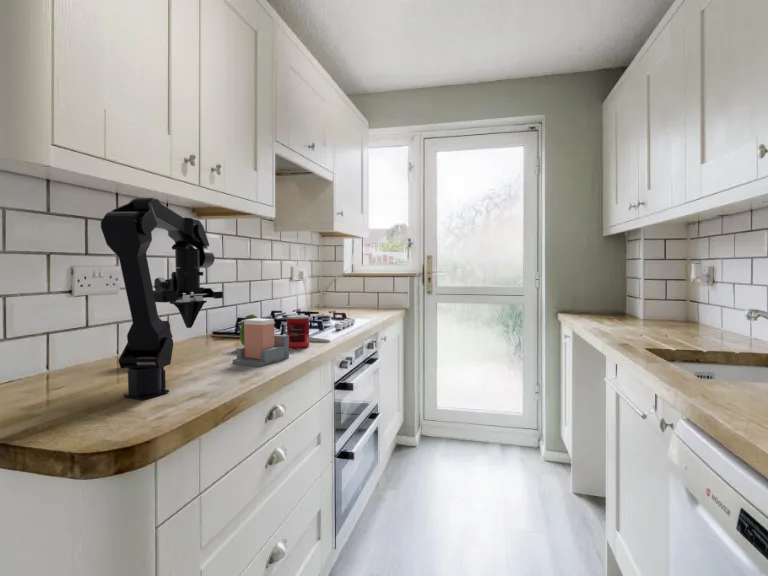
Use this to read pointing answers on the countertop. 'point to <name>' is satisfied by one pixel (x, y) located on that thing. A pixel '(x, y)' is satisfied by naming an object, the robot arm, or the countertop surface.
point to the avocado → (243, 327)
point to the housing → (266, 353)
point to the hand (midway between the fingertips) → (189, 327)
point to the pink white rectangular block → (258, 336)
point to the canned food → (298, 331)
